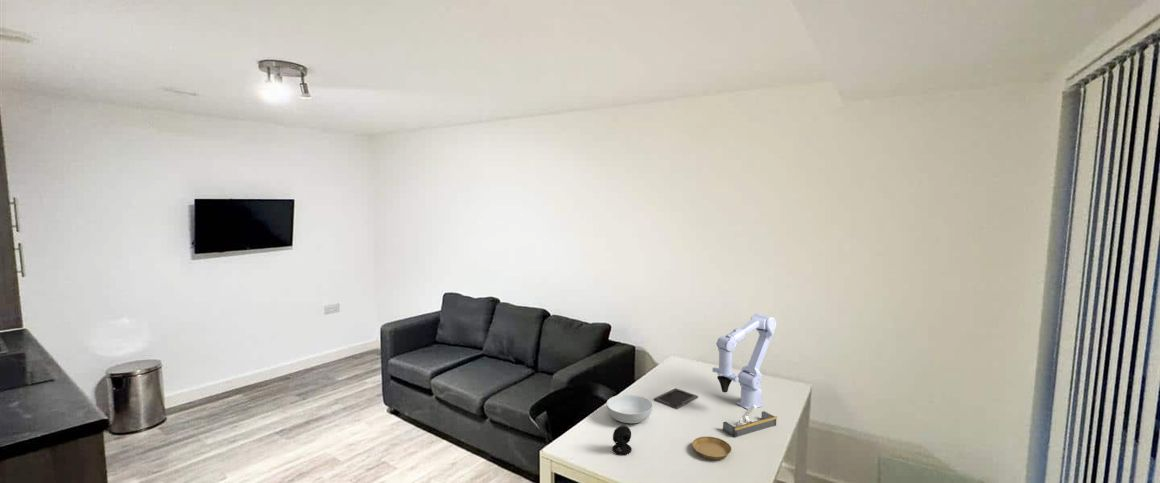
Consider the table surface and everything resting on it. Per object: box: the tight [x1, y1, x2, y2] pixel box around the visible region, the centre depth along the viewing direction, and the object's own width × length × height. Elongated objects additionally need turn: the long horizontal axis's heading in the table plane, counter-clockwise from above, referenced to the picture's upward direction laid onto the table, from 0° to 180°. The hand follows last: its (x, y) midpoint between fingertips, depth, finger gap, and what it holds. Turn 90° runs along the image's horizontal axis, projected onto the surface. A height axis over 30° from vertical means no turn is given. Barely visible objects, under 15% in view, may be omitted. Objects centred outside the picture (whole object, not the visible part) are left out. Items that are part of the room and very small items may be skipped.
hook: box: [736, 404, 758, 427], centre depth 200 cm, size 8×12×7 cm
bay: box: [722, 410, 778, 438], centre depth 199 cm, size 24×7×4 cm, turn 116°
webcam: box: [611, 425, 633, 456], centre depth 181 cm, size 8×8×10 cm
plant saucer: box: [692, 436, 732, 461], centre depth 180 cm, size 15×15×3 cm
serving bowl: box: [605, 394, 654, 424], centre depth 208 cm, size 21×21×7 cm
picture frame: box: [653, 387, 699, 410], centre depth 228 cm, size 13×2×18 cm
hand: (724, 391), depth 213 cm, fingers closed
